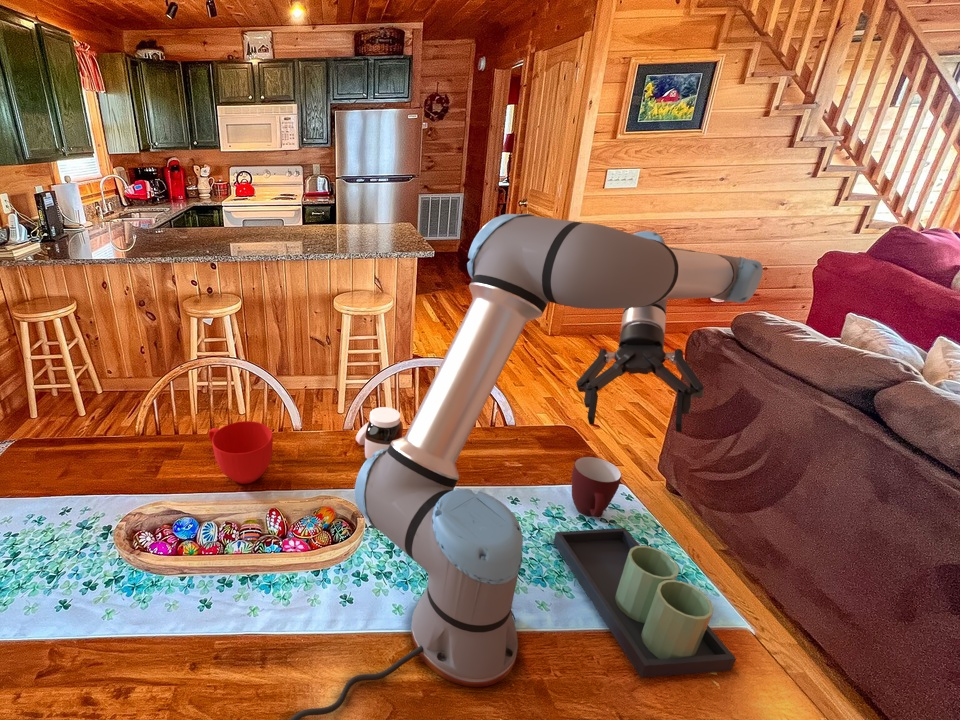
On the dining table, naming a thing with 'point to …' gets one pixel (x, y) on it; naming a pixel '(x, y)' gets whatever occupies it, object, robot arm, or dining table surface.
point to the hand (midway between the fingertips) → (632, 424)
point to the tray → (599, 574)
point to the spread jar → (380, 430)
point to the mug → (594, 485)
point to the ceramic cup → (242, 450)
